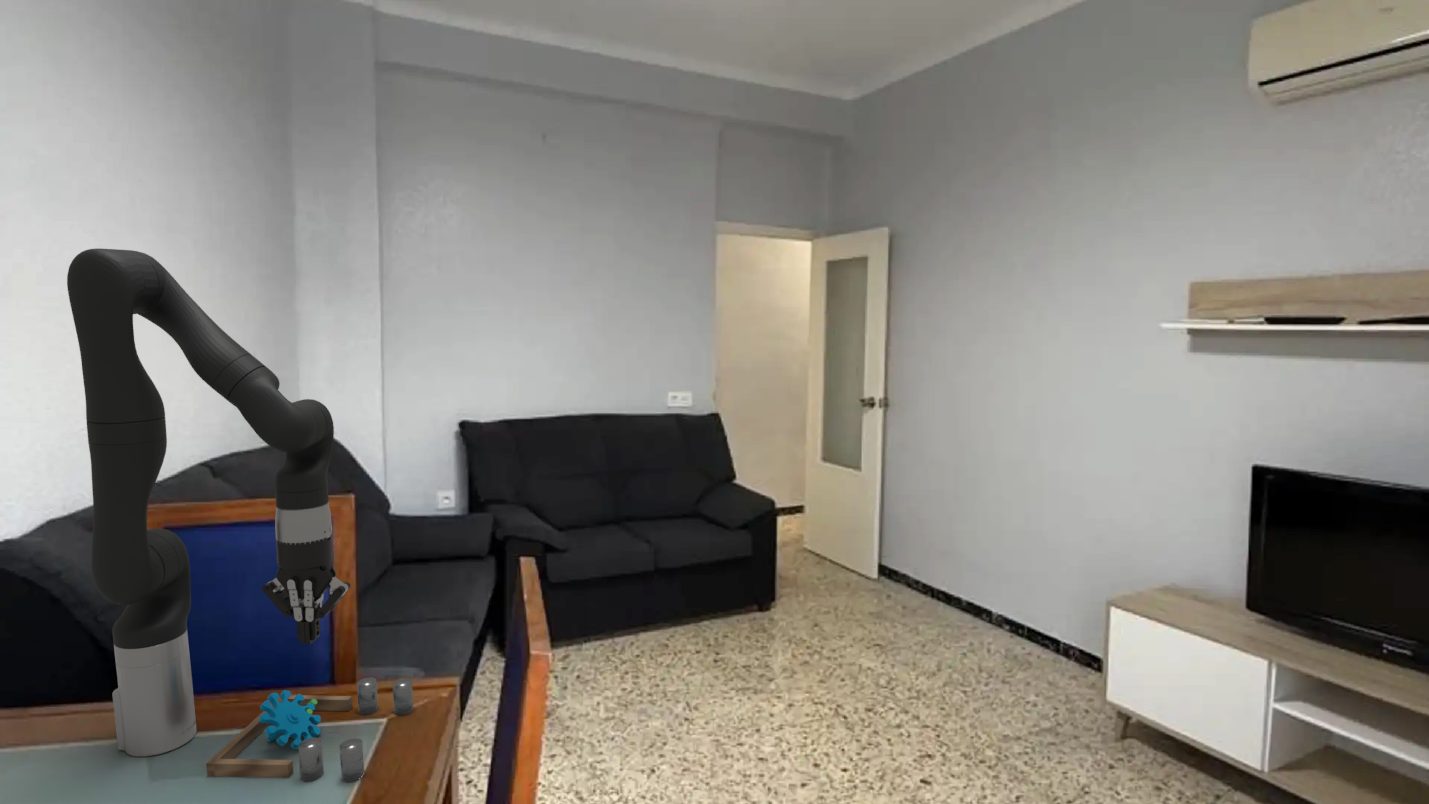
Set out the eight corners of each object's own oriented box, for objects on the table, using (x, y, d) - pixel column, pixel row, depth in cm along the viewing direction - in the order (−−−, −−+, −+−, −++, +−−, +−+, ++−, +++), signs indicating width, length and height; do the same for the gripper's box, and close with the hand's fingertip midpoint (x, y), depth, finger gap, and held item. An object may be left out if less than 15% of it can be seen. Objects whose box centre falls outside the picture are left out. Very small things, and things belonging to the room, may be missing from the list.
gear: (292, 754, 118) (251, 702, 119) (266, 779, 118) (226, 727, 120) (340, 724, 129) (302, 676, 130) (316, 747, 129) (278, 699, 131)
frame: (207, 776, 115) (206, 763, 115) (282, 706, 134) (281, 694, 134) (289, 777, 115) (288, 765, 114) (352, 707, 134) (351, 696, 134)
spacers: (296, 781, 114) (293, 749, 113) (363, 705, 135) (361, 677, 134) (358, 782, 114) (356, 750, 113) (416, 706, 134) (414, 678, 134)
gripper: (245, 539, 116) (252, 651, 118) (335, 542, 116) (340, 654, 118) (274, 524, 123) (280, 629, 126) (359, 527, 123) (363, 632, 126)
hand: (309, 641), depth 122 cm, fingers closed
